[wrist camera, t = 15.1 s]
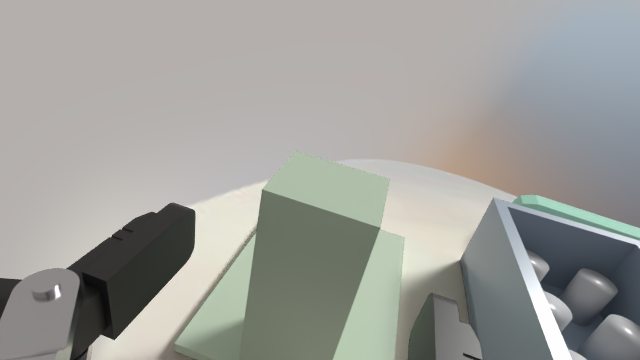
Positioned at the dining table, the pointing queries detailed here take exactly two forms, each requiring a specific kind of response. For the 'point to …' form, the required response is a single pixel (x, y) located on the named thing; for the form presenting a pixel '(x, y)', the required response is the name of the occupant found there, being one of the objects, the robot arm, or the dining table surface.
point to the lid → (308, 274)
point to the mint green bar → (577, 215)
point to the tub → (551, 288)
